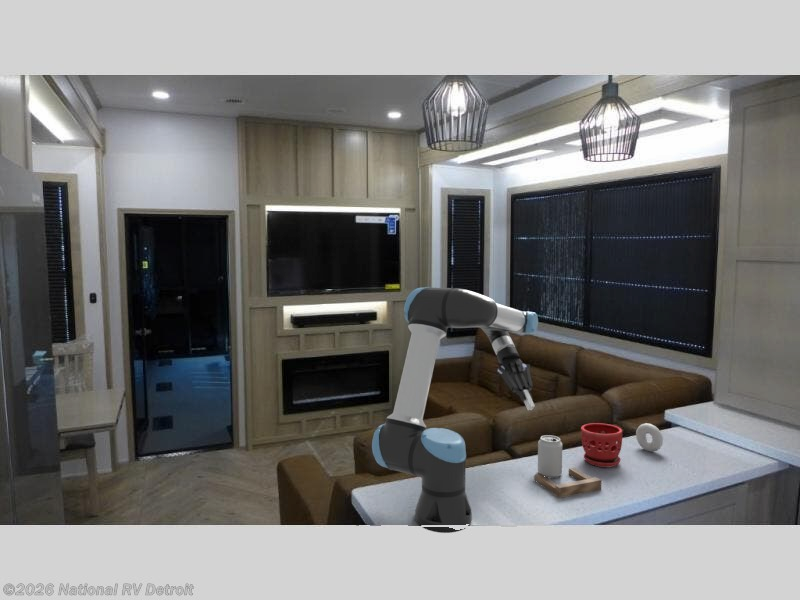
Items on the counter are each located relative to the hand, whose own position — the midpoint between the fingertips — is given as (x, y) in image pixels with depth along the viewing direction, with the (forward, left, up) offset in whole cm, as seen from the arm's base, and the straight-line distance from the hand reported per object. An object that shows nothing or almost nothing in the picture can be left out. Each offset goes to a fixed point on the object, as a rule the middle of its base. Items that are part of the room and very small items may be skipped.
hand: (531, 408), depth 179 cm
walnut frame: (-1, -20, -18) cm, 27 cm away
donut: (+44, -8, -19) cm, 49 cm away
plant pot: (+21, -10, -19) cm, 30 cm away
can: (-1, -12, -19) cm, 22 cm away
